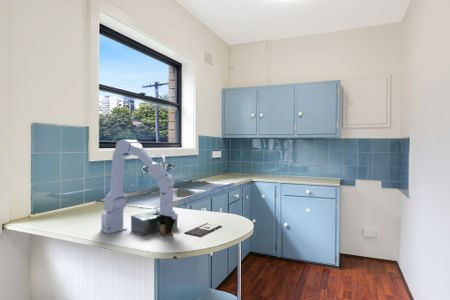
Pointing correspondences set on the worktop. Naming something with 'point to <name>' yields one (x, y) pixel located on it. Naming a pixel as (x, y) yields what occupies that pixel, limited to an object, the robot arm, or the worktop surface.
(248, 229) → the worktop surface
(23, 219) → the worktop surface
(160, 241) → the worktop surface
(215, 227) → the chocolate bar
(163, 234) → the tan rectangular slab
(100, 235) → the worktop surface
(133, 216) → the cash box
